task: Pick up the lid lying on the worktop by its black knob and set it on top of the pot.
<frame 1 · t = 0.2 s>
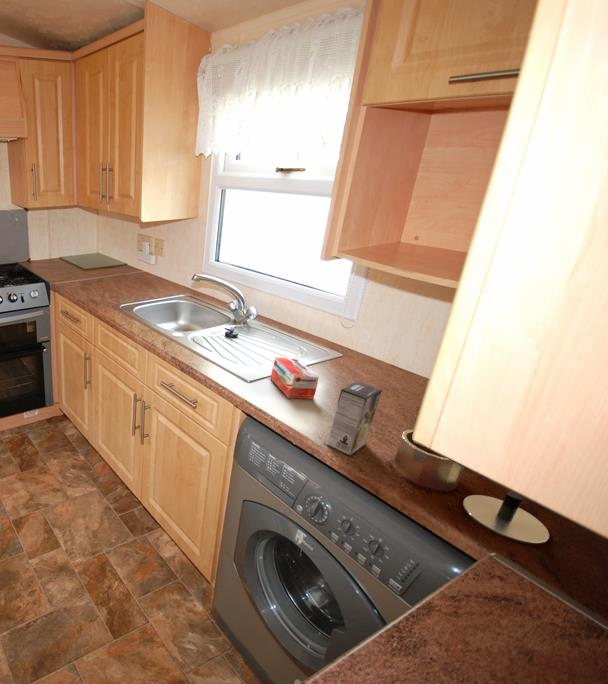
coffee box: (345, 445, 118), on the worktop
lid: (503, 519, 93), point 1 cm above the worktop
pot: (423, 474, 107), on the worktop
medicine box: (290, 389, 148), on the worktop
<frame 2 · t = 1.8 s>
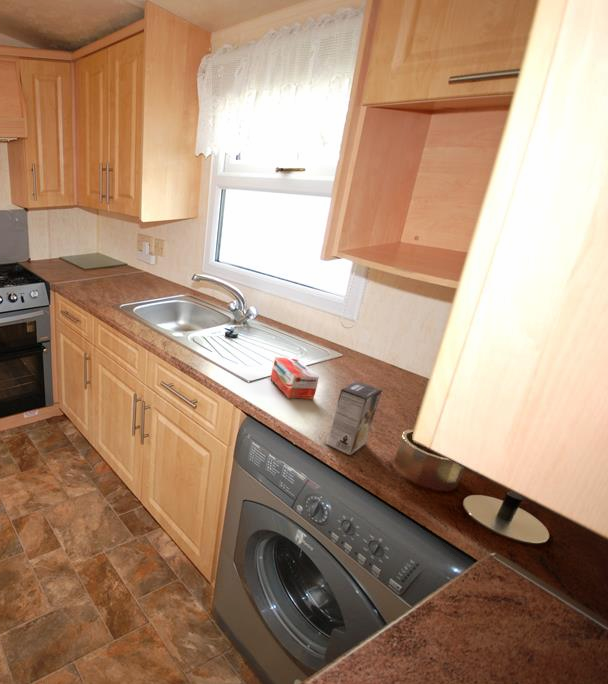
nothing on the worktop moved.
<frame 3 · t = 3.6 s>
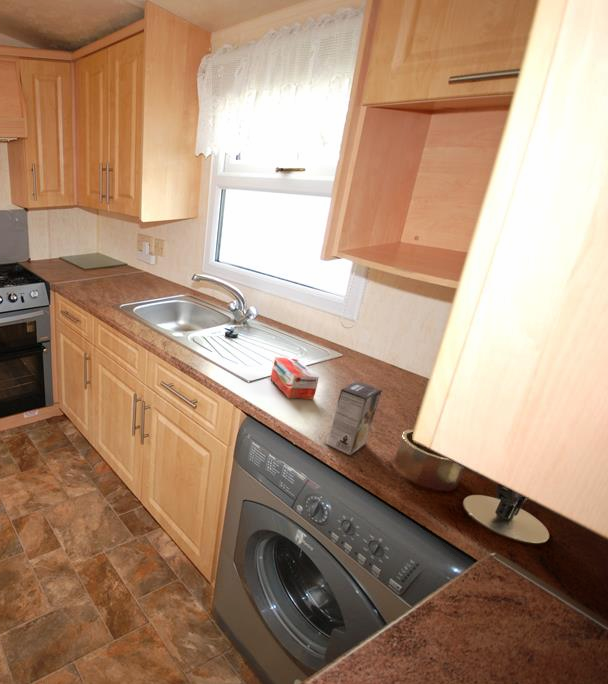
hand: (505, 514, 93), 2 cm above the worktop, tool pointing down, fingers closed on lid, 2 cm apart
lid: (503, 519, 93), point 1 cm above the worktop, touching gripper
everything else where it was.
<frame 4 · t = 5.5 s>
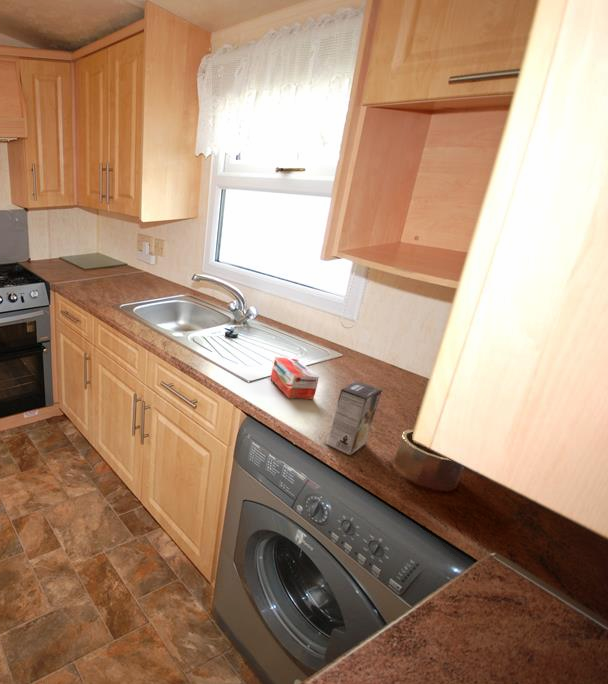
lid: (534, 455, 88), point 16 cm above the worktop, touching gripper
everything else where it was.
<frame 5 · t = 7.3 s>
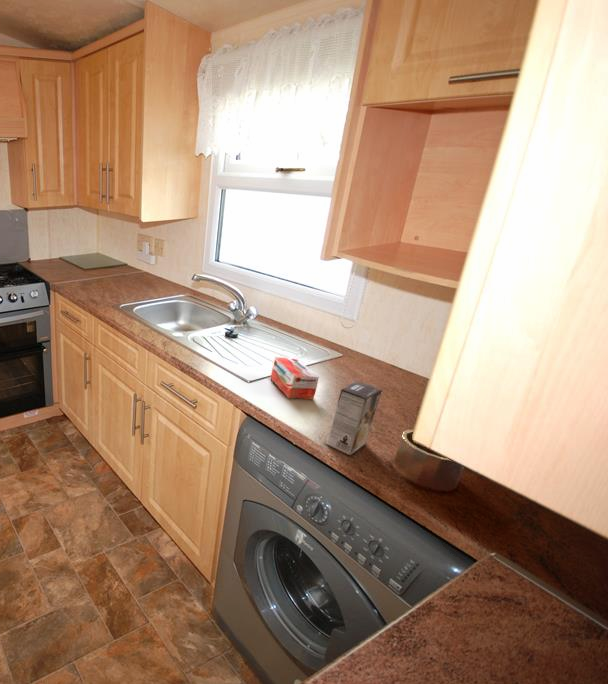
lid: (471, 392, 96), point 23 cm above the worktop, touching gripper
everything else where it was.
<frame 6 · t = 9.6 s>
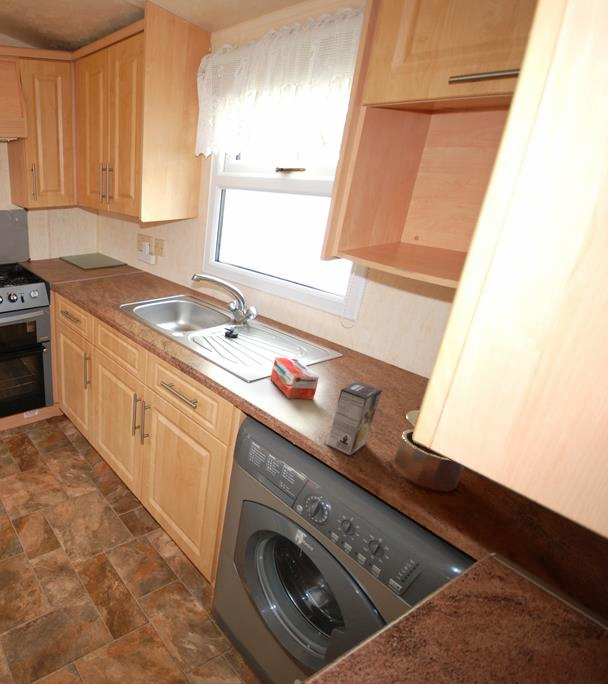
lid: (441, 427, 102), point 13 cm above the worktop, touching gripper
everything else where it was.
when the fingers open (10 cm above the worktop, at t = 11.0 s): lid stays where it is, resting on pot.
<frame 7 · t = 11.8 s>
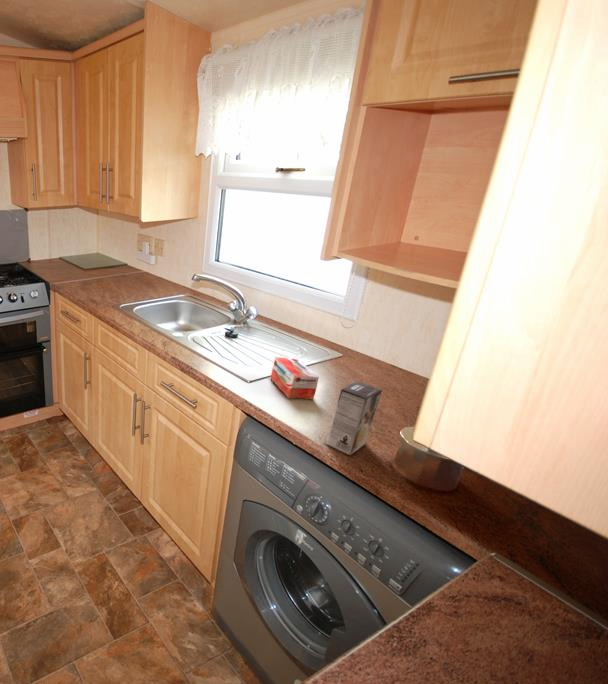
lid: (434, 444, 104), point 8 cm above the worktop, touching pot
everything else where it was.
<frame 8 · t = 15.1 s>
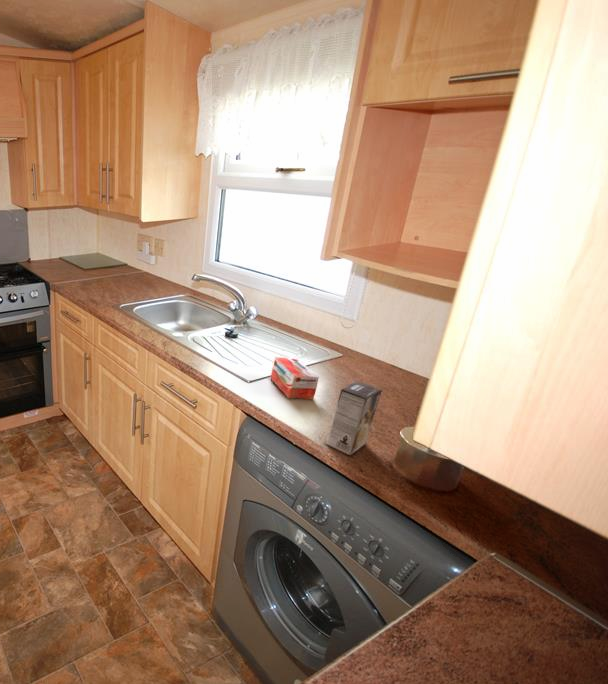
nothing on the worktop moved.
at the end: lid 0.1 cm off-centre on the pot, point 8.5 cm above the pot's base; lid tilted 0° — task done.
